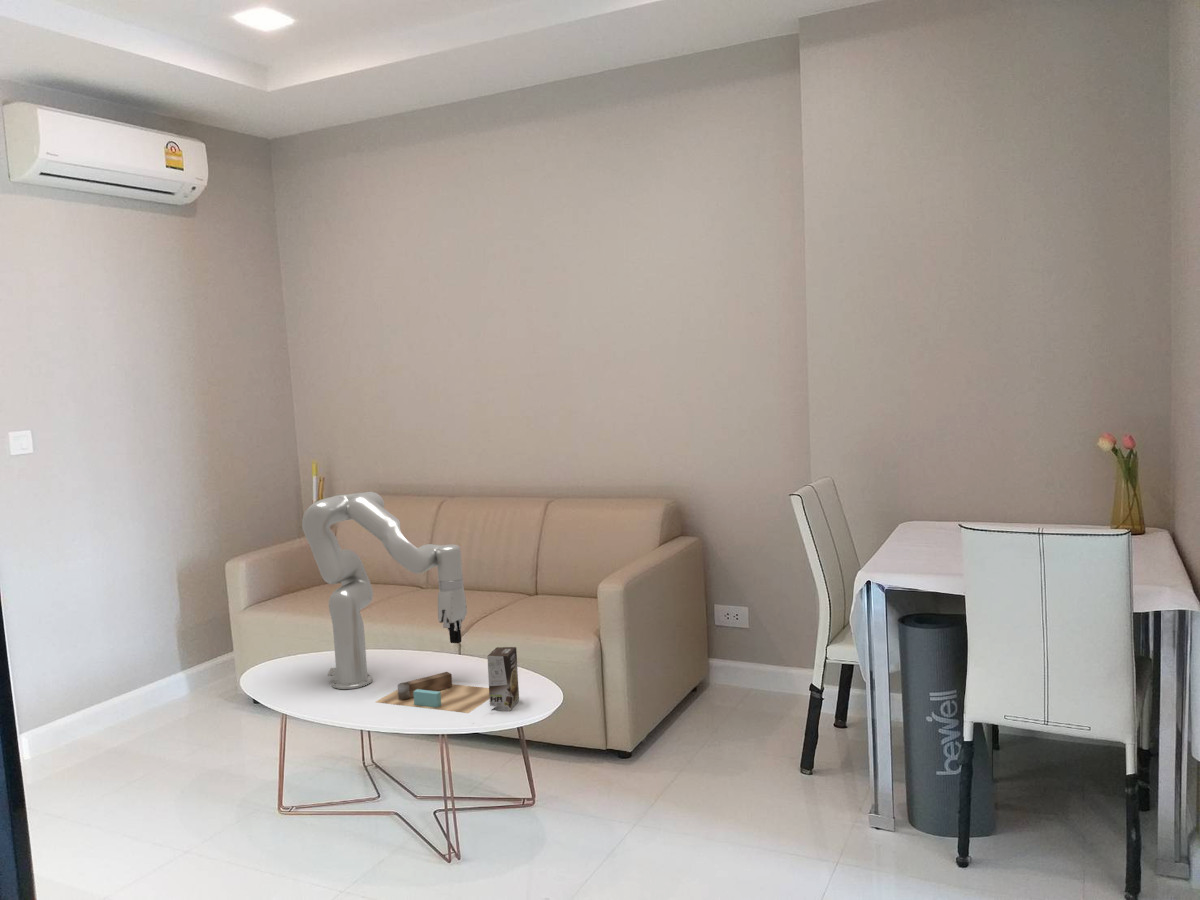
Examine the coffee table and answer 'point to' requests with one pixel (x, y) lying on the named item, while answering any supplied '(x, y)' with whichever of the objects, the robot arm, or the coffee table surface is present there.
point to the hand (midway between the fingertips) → (455, 642)
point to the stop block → (427, 698)
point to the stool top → (448, 698)
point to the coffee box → (503, 678)
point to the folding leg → (425, 685)
